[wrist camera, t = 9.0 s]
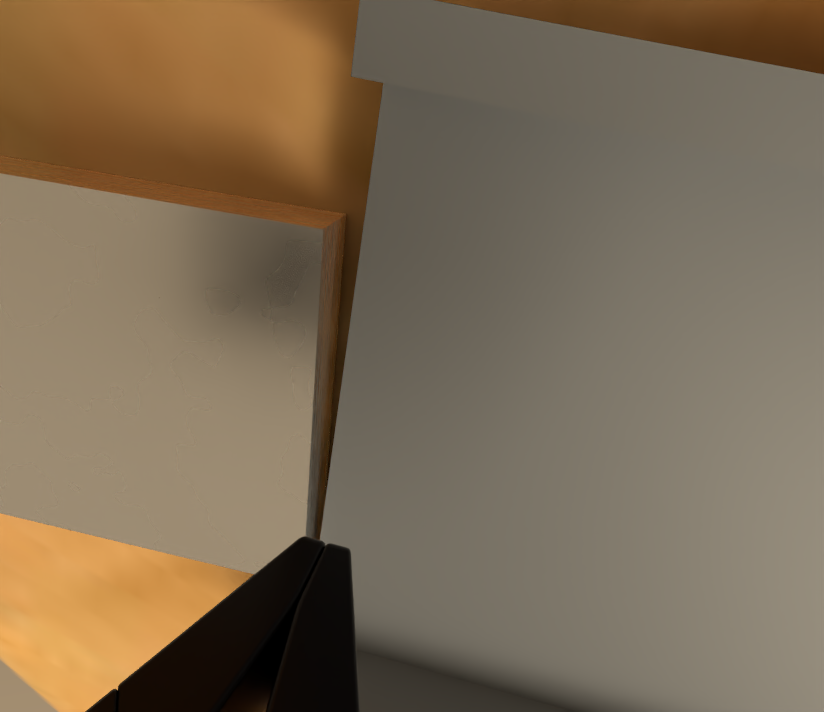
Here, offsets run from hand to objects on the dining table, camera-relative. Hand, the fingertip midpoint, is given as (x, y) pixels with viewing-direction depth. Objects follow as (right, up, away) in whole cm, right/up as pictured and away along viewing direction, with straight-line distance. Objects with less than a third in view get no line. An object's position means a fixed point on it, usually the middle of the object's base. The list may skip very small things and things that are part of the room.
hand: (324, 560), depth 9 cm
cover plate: (-5, +3, +5) cm, 8 cm away
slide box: (+9, 0, +3) cm, 9 cm away
